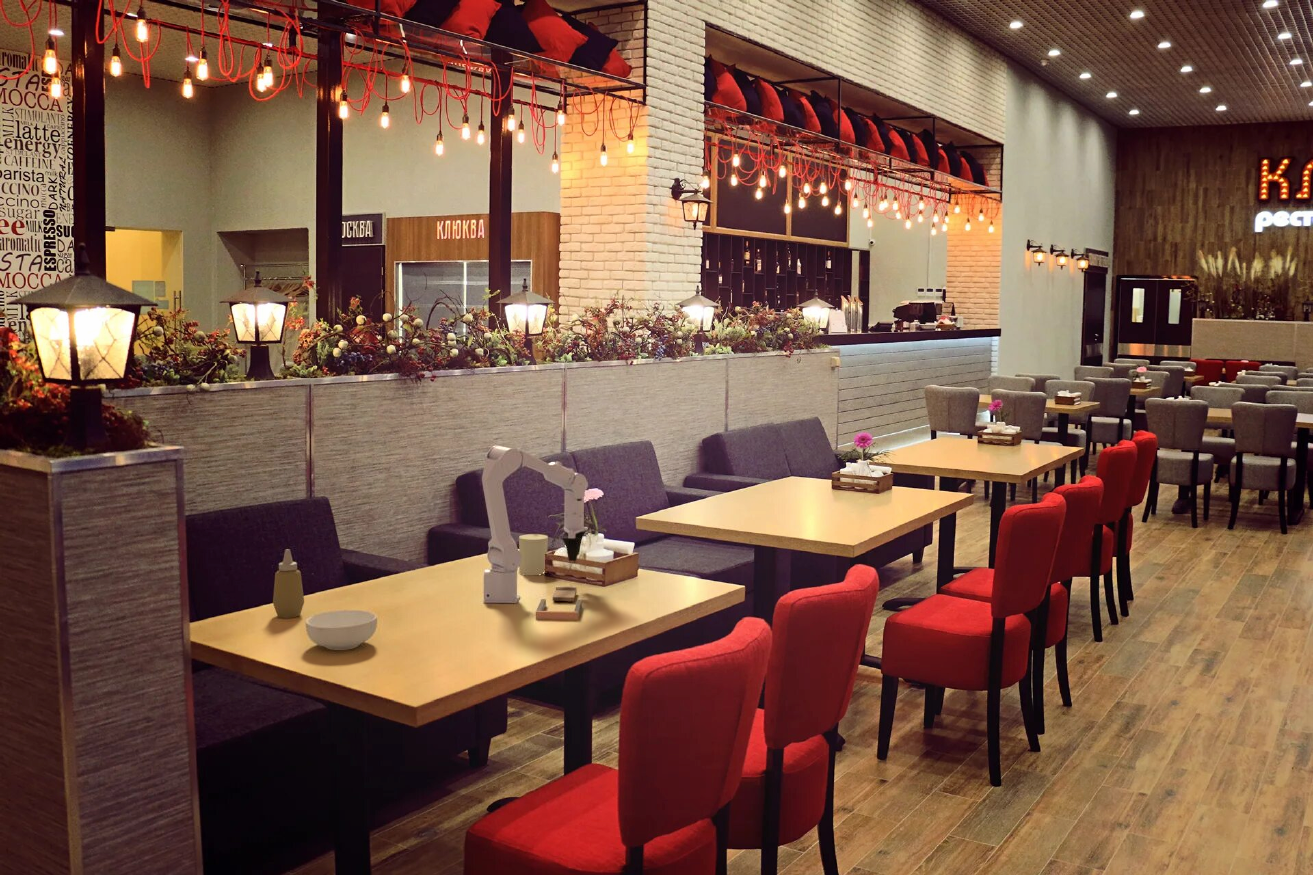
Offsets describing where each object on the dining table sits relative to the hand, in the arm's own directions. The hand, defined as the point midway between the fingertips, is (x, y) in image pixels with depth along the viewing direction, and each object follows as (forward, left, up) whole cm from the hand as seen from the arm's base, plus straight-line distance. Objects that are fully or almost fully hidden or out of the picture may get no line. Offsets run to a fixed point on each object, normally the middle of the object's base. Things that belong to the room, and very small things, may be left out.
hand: (573, 557), depth 346 cm
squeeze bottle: (-74, -36, -10) cm, 82 cm away
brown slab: (-2, -12, -10) cm, 15 cm away
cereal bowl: (-52, -63, -10) cm, 82 cm away
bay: (-2, -28, -9) cm, 29 cm away
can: (-15, +21, -10) cm, 28 cm away
